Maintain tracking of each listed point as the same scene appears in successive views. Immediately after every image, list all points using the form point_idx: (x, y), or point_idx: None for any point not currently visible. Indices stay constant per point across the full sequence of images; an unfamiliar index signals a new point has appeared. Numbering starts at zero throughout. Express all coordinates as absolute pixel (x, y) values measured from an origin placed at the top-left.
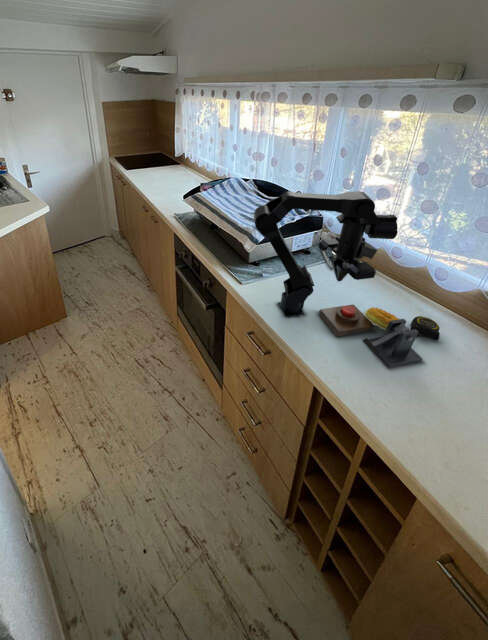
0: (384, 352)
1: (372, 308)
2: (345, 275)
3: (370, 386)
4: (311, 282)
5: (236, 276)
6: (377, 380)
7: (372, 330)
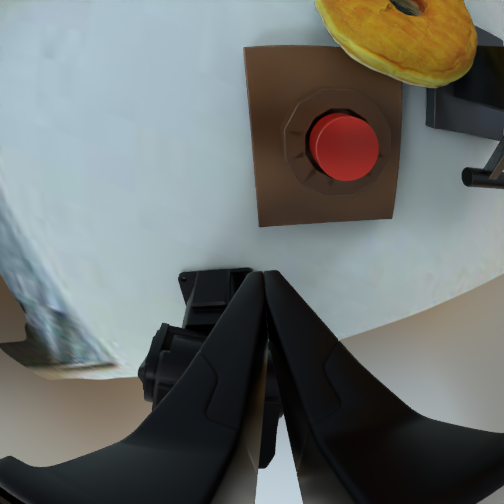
0: (478, 119)
1: (377, 28)
2: (322, 329)
3: (500, 218)
4: (274, 425)
5: (86, 362)
6: (500, 193)
7: None
